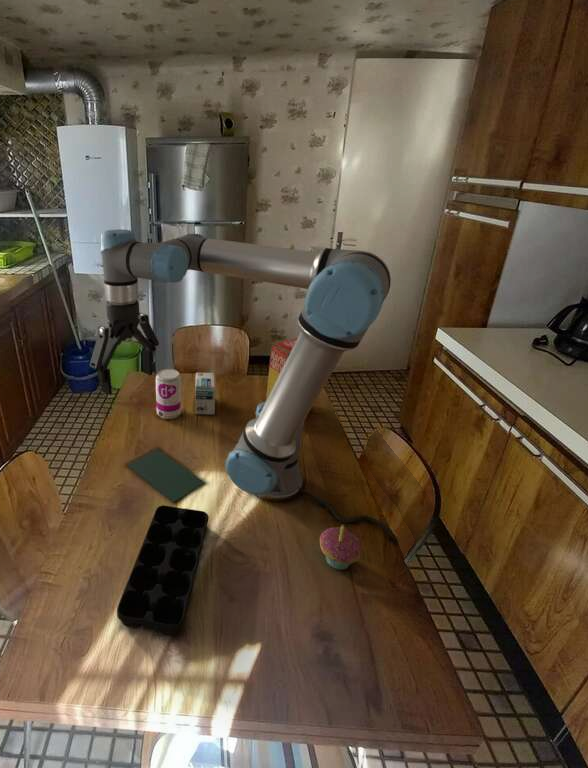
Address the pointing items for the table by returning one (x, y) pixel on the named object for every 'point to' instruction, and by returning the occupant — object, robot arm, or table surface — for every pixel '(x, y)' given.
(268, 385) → the food packaging
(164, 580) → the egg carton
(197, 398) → the light bulb box
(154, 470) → the mat
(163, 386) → the supplement can
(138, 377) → the table surface
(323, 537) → the cupcake
